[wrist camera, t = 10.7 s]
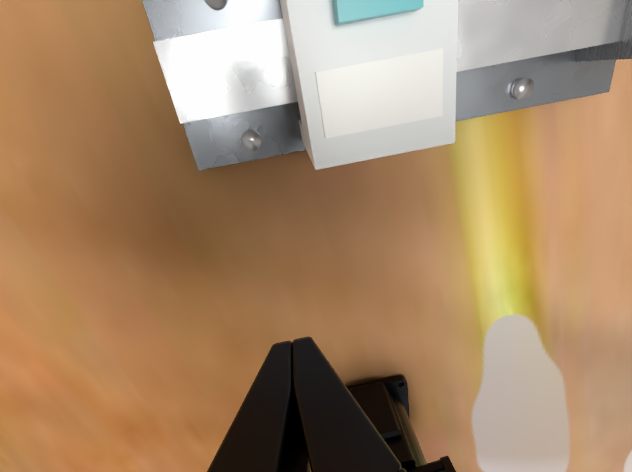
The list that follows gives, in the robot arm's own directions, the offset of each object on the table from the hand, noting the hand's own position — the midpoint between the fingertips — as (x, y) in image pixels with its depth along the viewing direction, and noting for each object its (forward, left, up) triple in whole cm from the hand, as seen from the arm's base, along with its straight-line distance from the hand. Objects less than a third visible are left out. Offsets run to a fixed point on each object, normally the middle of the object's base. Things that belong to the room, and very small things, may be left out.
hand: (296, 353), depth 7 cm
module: (+6, -4, -12) cm, 14 cm away
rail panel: (+6, -7, -12) cm, 16 cm away
